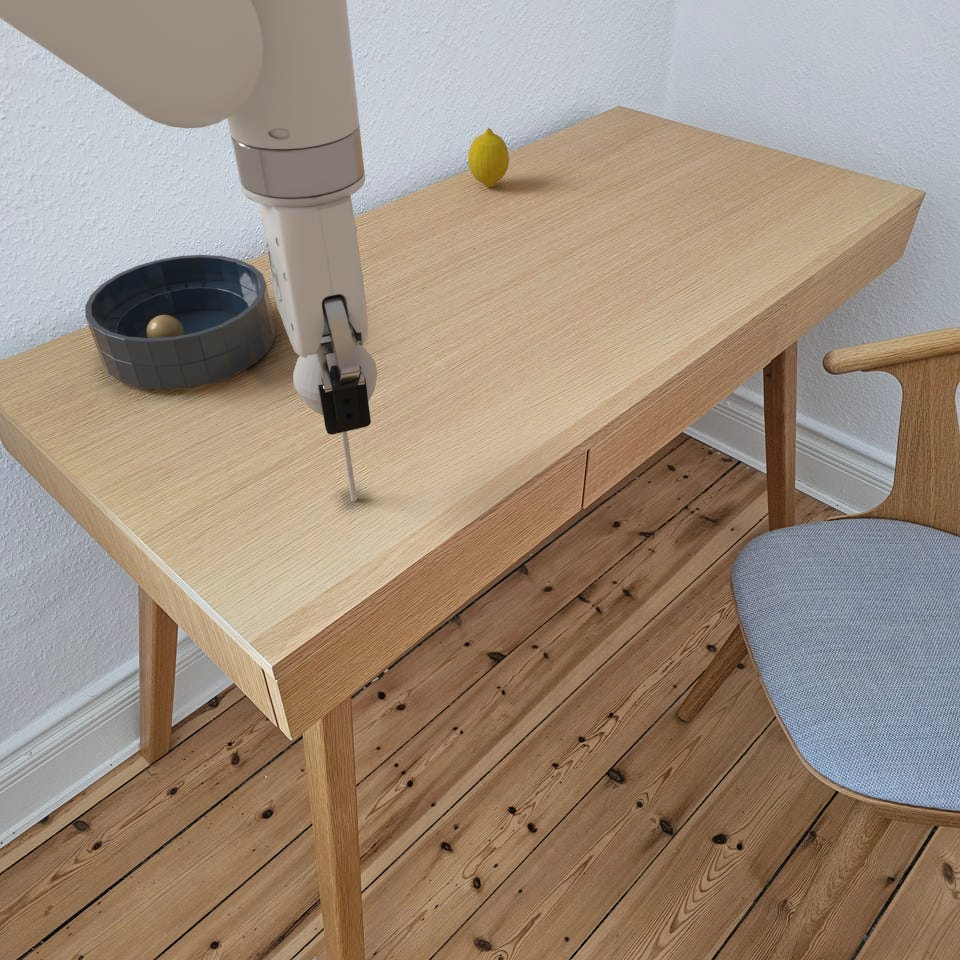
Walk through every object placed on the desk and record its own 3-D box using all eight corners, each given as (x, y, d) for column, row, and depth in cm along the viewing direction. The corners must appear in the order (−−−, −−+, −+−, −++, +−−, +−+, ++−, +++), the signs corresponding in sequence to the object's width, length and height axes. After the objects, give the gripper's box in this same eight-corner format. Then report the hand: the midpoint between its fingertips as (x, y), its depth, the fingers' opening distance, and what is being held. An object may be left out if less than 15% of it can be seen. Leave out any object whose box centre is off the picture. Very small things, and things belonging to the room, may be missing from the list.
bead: (139, 350, 84) (147, 323, 82) (147, 329, 87) (155, 302, 85) (175, 363, 86) (184, 337, 83) (183, 341, 88) (191, 315, 86)
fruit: (460, 186, 118) (458, 127, 113) (491, 176, 120) (491, 118, 115) (485, 198, 115) (485, 138, 109) (517, 188, 117) (517, 128, 112)
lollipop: (356, 466, 73) (333, 311, 63) (406, 494, 70) (391, 336, 60) (301, 504, 69) (268, 346, 59) (352, 536, 66) (326, 375, 56)
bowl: (107, 411, 79) (86, 356, 75) (101, 322, 91) (83, 271, 88) (290, 372, 84) (279, 319, 80) (261, 293, 96) (251, 243, 92)
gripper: (219, 122, 56) (267, 354, 68) (261, 226, 44) (311, 486, 56) (330, 108, 58) (358, 335, 70) (400, 204, 46) (420, 460, 58)
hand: (337, 400), depth 63 cm, fingers closed on lollipop, 6 cm apart
